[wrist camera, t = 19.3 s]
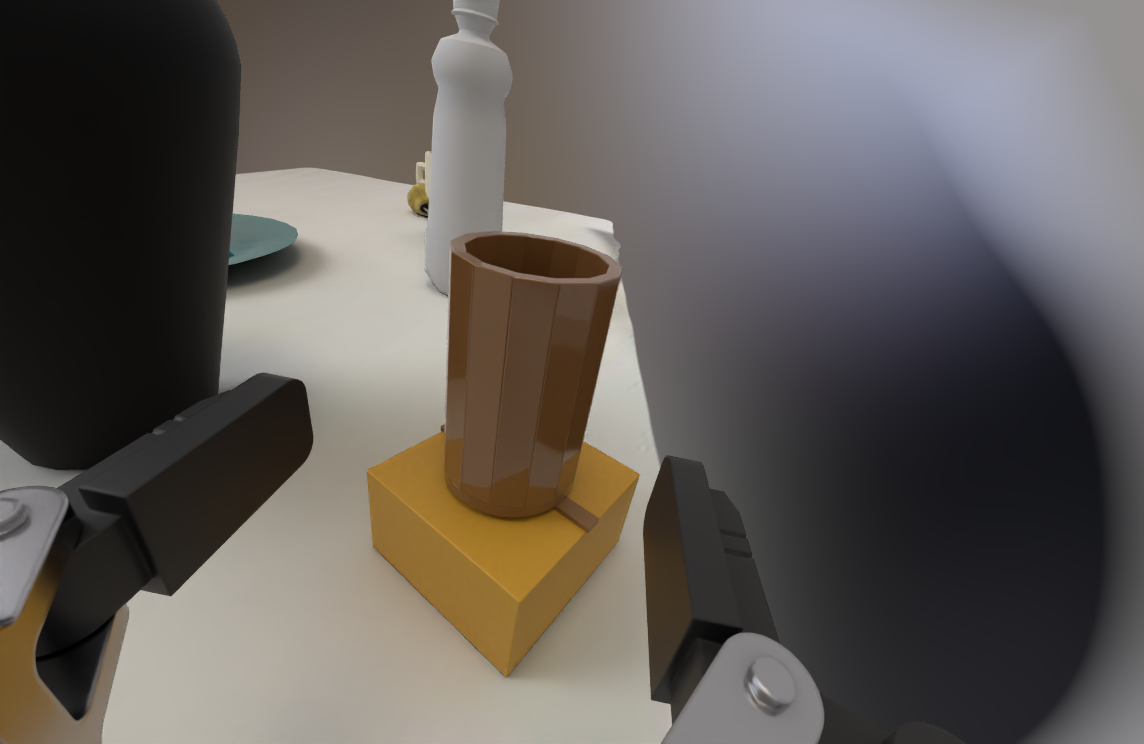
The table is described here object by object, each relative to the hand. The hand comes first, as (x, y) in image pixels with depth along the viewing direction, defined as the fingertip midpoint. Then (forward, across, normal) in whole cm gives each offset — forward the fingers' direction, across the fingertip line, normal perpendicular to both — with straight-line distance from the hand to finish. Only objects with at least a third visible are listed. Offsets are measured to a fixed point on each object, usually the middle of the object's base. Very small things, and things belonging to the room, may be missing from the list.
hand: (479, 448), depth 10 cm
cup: (+8, 0, +8) cm, 11 cm away
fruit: (+79, +34, +13) cm, 86 cm away
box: (+8, 0, +13) cm, 15 cm away
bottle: (+44, +14, +13) cm, 48 cm away
